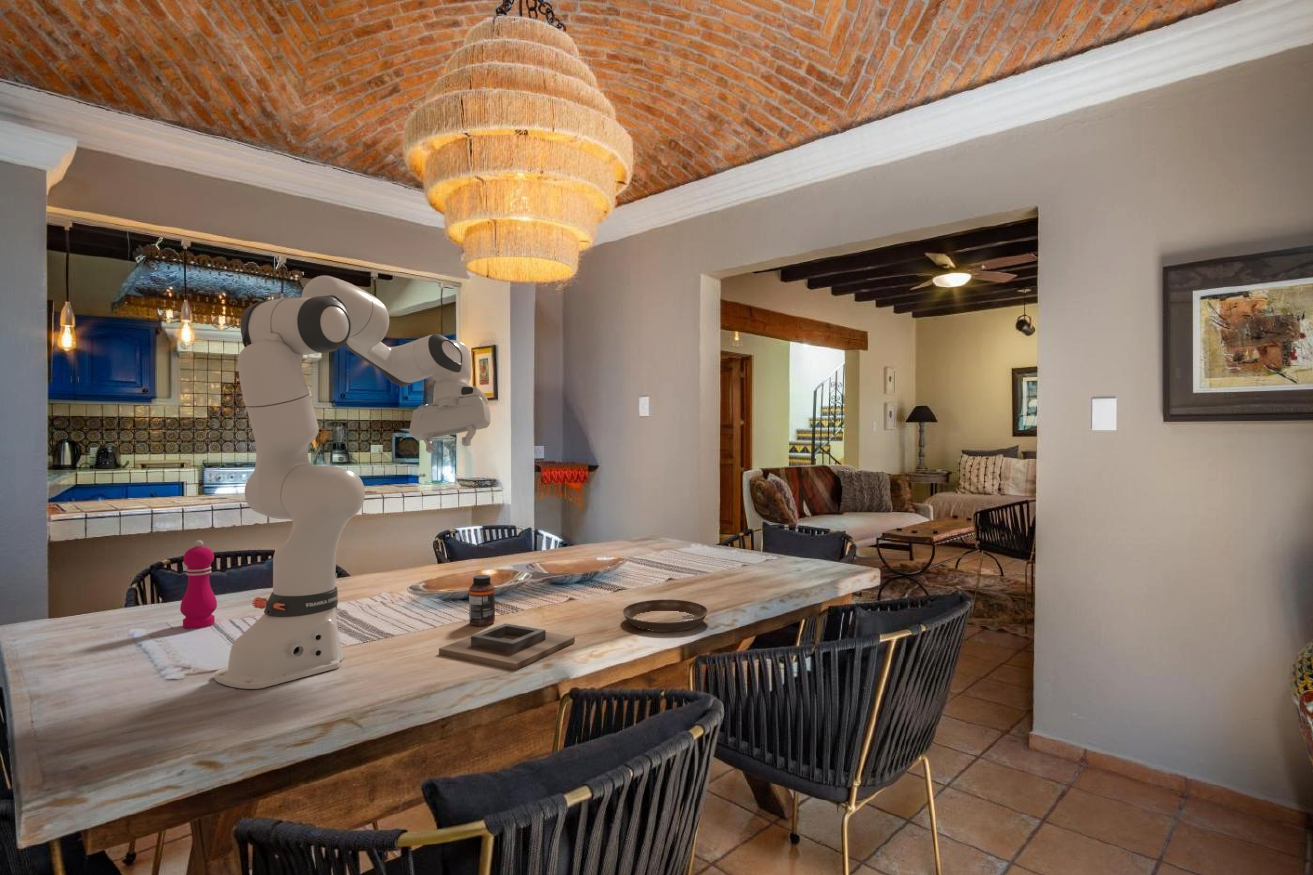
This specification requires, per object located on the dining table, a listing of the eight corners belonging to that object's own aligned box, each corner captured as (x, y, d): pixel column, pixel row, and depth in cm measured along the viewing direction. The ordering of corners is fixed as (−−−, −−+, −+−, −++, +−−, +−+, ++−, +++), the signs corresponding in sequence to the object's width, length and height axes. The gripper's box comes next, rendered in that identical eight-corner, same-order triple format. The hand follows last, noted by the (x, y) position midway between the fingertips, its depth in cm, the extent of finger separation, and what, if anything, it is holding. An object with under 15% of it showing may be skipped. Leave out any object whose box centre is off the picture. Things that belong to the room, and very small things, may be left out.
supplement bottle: (482, 618, 170) (482, 572, 170) (500, 622, 167) (500, 575, 167) (463, 624, 165) (463, 576, 165) (481, 628, 162) (482, 579, 162)
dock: (516, 670, 134) (516, 653, 134) (438, 654, 143) (438, 638, 143) (574, 642, 151) (574, 627, 151) (502, 629, 161) (502, 616, 161)
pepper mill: (224, 621, 166) (224, 538, 166) (201, 630, 159) (201, 542, 159) (196, 620, 167) (196, 537, 167) (172, 628, 160) (172, 542, 160)
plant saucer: (655, 641, 154) (656, 626, 154) (606, 620, 170) (606, 606, 170) (725, 625, 166) (725, 612, 166) (673, 608, 183) (673, 595, 183)
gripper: (407, 401, 174) (402, 450, 168) (483, 386, 171) (480, 435, 164) (420, 413, 180) (415, 460, 173) (494, 398, 176) (492, 446, 170)
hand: (448, 448), depth 169 cm, fingers open, 8 cm apart
